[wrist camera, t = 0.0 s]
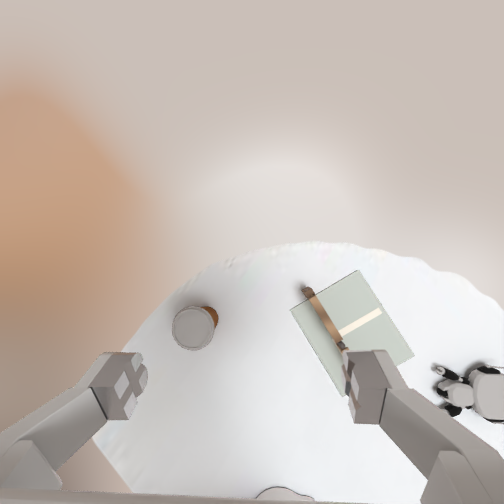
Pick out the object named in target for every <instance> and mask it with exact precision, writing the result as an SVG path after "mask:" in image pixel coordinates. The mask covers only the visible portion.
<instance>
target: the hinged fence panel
mask: <svg viewBox="0 0 504 504" xmlns="http://www.w3.org/2000/svg"><path fill="white" fill-rule="evenodd" d="M302 292H303V293H304V295H305V296H306V297H307V298H308V299H309V301H310V302H311V304H312V306H313V307H314V309H315V310H316V312H317V314H318V315H319V317H320V319H321V320H322V322H323V323H324V325H325V327H326V328H327V330H328V332H329V333H330V335H331V336H332V338H333V340H334V341H335V343H338V342H340V341H341V340H343V338H342V337H341V335H340V333H339V332H338V330H337V329H336V327H335V325H334V324H333V322H332V321H331V319H330V317H329V316H328V314H327V313H326V311H325V309H324V308H323V306H322V304H321V303H320V301H319V300H318V298H317V296H316V295H315V293H314V292H313V290H312V288H310V287H307V288H305V289H303V290H302Z"/></svg>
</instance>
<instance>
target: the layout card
mask: <svg viewBox="0 0 504 504" xmlns="http://www.w3.org/2000/svg"><path fill="white" fill-rule="evenodd" d="M316 296H317V298H318V300H319V301H320V303H321V304H322V306H323V308H324V309H325V311H326V313H327V314H328V316H329V317H330V319H331V321H332V322H333V324H334V325H335V327H336V329H337V330H338V332H339V333H340V335H341V337H342V338H343V340H341V341H342V342H343V343H344V344H345V347H348V348H349V350H384V349H385V350H386V351H387V352H388V353H389V355H390V357H391V359H392V360H393V362H394V364H395V365H396V366H398V365H400V364H401V363H403V362H405V361H407V360H408V359H410V358H412V357H414V356H415V355H414V354H413V352H412V351H411V349H410V347H409V346H408V344H407V343H406V341H405V340H404V338H403V337H402V335H401V334H400V332H399V331H398V329H397V328H396V326H395V325H394V323H393V321H392V320H391V318H390V317H389V315H388V314H387V312H386V311H385V309H384V308H383V306H382V305H381V303H380V302H379V300H378V298H377V297H376V295H375V294H374V292H373V291H372V289H371V288H370V286H369V285H368V283H367V282H366V280H365V279H364V277H363V276H362V274H361V272H360V271H359V270H357V271H355V272H354V273H352V274H350V275H348V276H347V277H345V278H343V279H342V280H340V281H338V282H337V283H335V284H333V285H332V286H330V287H328V288H327V289H325V290H323V291H321V292H320V293H318V294H316ZM290 311H291V312H292V314H293V316H294V317H295V319H296V321H297V322H298V324H299V326H300V327H301V329H302V331H303V332H304V334H305V336H306V337H307V339H308V341H309V342H310V344H311V346H312V347H313V349H314V351H315V352H316V354H317V356H318V357H319V359H320V361H321V362H322V364H323V366H324V367H325V369H326V371H327V372H328V374H329V376H330V377H331V379H332V381H333V382H334V384H335V386H336V387H337V389H338V390H339V392H340V394H341V395H342V397H343V396H345V395H346V394H345V392H344V388H343V384H342V379H341V366H342V365H343V364H344V362H343V359H342V353H341V351H340V350H339V348H338V346H337V345H336V343H335V341H334V340H333V338H332V336H331V335H330V333H329V332H328V330H327V328H326V327H325V325H324V323H323V322H322V320H321V319H320V317H319V315H318V314H317V312H316V310H315V309H314V307H313V306H312V304H311V302H310V301H309V299H308V300H306V301H305V302H303V303H301V304H299V305H298V306H296V307H294V308H293V309H291V310H290Z"/></svg>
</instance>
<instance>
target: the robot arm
mask: <svg viewBox="0 0 504 504" xmlns="http://www.w3.org/2000/svg"><path fill="white" fill-rule="evenodd" d="M342 359H343V362H344V364H343V365H342V366H341V379H342V384H343V388H344V392H345V394H346V395H348V396H349V403H348V405H349V408H350V412H351V415H352V418H353V421H354V423H357V424H379V425H380V427H381V428H382V429H383V430H384V432H385V433H386V434H387V435H388V436H389V437H390V438H391V439H392V440H393V442H394V443H395V444H396V445H397V446H398V447H399V448H400V449H401V451H402V452H403V453H404V454H405V455H406V456H407V457H408V458H409V460H410V461H411V462H412V463H413V464H414V465H415V466H416V467H417V468H418V470H419V471H420V472H421V473H422V474H423V475H424V476H425V477H426V479H427V480H428V482H427V484H426V487H425V489H424V492H423V494H422V497H421V499H420V501H421V504H504V460H503V458H502V457H501V456H500V454H499V453H498V452H497V450H495V449H494V448H492V447H491V446H490V445H488V444H487V443H486V442H484V441H483V440H482V439H480V438H479V437H478V436H476V435H475V434H474V433H472V432H471V431H470V430H468V429H467V428H466V427H464V426H463V425H461V424H460V423H459V422H457V421H456V420H455V419H453V418H452V417H451V416H449V415H448V414H447V413H445V412H444V411H443V410H441V409H440V408H439V407H437V406H436V405H435V404H433V403H432V402H430V401H429V400H428V399H426V398H425V397H424V396H422V395H421V394H420V393H418V392H417V391H416V390H414V389H409V388H408V386H407V385H406V383H405V381H404V379H403V378H402V376H401V374H400V372H399V371H398V369H397V367H396V365H395V364H394V362H393V360H392V359H391V357H390V355H389V353H388V352H387V351H386V350H385V349H384V350H344V351H343V354H342ZM142 361H143V358H142V355H141V353H125V352H115V353H111V352H108V353H107V352H104V353H102V354H101V355H99V357H98V358H97V359H96V361H95V362H94V363H93V364H92V365H91V367H90V368H89V369H88V370H87V372H86V373H85V374H84V376H83V377H82V378H81V379H80V380H79V382H78V383H77V384H76V385H75V387H74V388H69V389H67V390H66V391H64V392H63V393H61V394H60V395H58V396H57V397H55V398H53V399H52V400H50V401H49V402H48V403H46V404H44V405H43V406H41V407H40V408H38V409H36V410H35V411H34V412H32V413H30V414H29V415H27V416H26V417H24V418H23V419H21V420H20V421H18V422H16V423H15V424H13V425H12V426H10V427H9V428H7V429H6V430H4V431H3V432H1V433H0V504H366V503H344V502H321V501H314V499H313V498H311V497H308V496H301V495H298V494H296V493H295V492H293V491H291V490H289V489H286V488H271V489H268V490H266V491H264V492H262V493H261V494H260V495H259V496H258V497H257V498H256V499H253V498H230V497H207V496H184V495H161V494H138V493H115V492H92V491H69V490H68V491H67V490H60V489H61V487H62V481H61V479H60V478H59V476H58V475H57V473H56V471H57V470H58V469H59V468H60V467H61V466H62V465H63V464H64V463H65V462H66V461H67V460H68V459H69V458H70V457H71V456H72V455H73V454H74V453H75V452H76V451H77V450H78V449H79V448H80V447H81V446H83V445H84V444H85V443H86V442H87V441H88V440H89V439H90V438H91V437H92V436H93V435H94V434H95V433H96V432H97V431H98V430H99V429H100V428H101V427H102V426H103V425H104V424H105V423H106V422H107V420H129V418H130V416H131V414H132V412H133V410H134V408H135V406H136V404H137V398H136V397H137V396H139V395H140V394H141V393H142V392H143V391H144V388H145V386H146V383H147V379H148V372H147V369H146V367H145V366H144V365H143V364H141V362H142Z"/></svg>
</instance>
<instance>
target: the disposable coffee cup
mask: <svg viewBox="0 0 504 504" xmlns="http://www.w3.org/2000/svg"><path fill="white" fill-rule="evenodd" d="M217 323H218V314H217V312H216V311H215V310H214V309H213V308H211V307H197V306H190V307H186V308H184V309H182V310H181V311H180V312H179V313H178V314H177V315H176V316H175V318H174V321H173V325H172V334H173V337H174V339H175V341H176V342H177V344H178V345H180V346H181V347H182V348H185V349H188V350H199V349H202V348H204V347H205V346H206V345H208V344H209V342H210V341H211V339H212V337H213V335H214V330H215V327H216V325H217Z"/></svg>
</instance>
